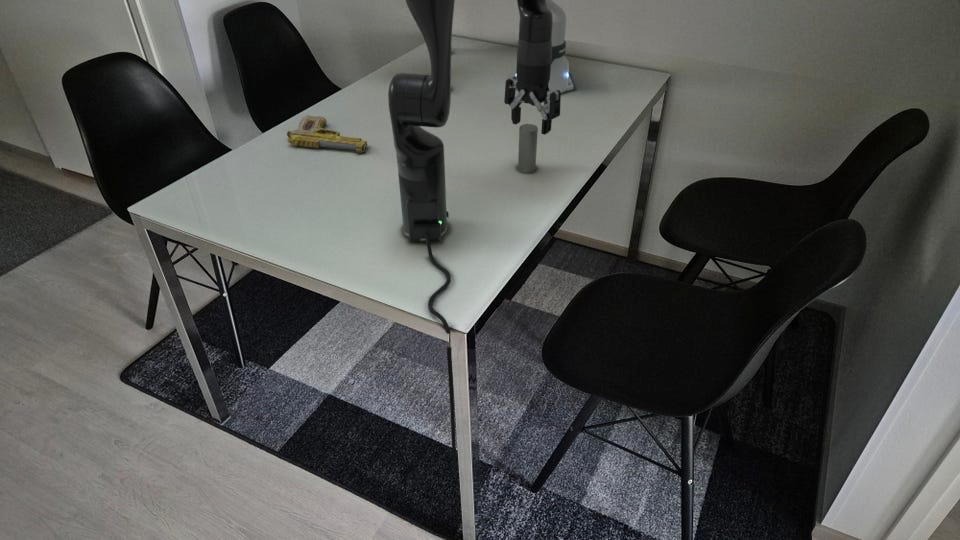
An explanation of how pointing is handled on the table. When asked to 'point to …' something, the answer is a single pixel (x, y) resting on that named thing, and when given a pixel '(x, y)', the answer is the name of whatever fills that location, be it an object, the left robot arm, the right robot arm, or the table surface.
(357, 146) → the handgun
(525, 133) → the can
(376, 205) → the table surface
